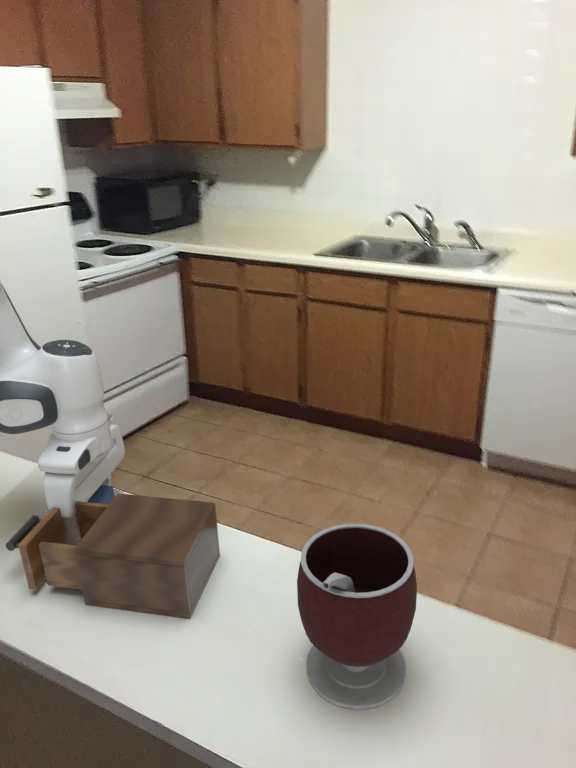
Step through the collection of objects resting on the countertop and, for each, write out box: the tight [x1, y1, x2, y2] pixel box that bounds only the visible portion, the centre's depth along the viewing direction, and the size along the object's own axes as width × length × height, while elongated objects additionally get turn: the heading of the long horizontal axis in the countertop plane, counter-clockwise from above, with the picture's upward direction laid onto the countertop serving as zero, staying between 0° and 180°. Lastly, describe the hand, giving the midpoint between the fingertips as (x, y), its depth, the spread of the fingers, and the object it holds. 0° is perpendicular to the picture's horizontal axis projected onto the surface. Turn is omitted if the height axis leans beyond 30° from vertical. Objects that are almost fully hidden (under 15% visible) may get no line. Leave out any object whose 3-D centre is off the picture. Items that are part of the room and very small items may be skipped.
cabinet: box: [74, 493, 221, 620], centre depth 98 cm, size 16×14×10 cm
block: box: [75, 485, 116, 526], centre depth 113 cm, size 5×5×5 cm
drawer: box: [4, 501, 109, 591], centre depth 100 cm, size 19×13×8 cm, turn 78°
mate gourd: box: [296, 523, 418, 711], centre depth 78 cm, size 16×14×20 cm
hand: (95, 508), depth 114 cm, fingers closed on block, 5 cm apart
